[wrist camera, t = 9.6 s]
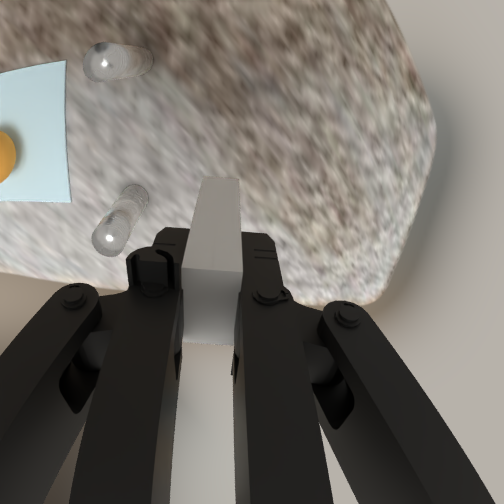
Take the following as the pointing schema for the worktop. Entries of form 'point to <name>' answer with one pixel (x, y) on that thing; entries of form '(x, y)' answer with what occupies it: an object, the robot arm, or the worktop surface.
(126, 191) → the post
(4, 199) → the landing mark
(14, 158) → the ball
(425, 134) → the worktop surface
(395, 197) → the worktop surface
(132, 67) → the post
